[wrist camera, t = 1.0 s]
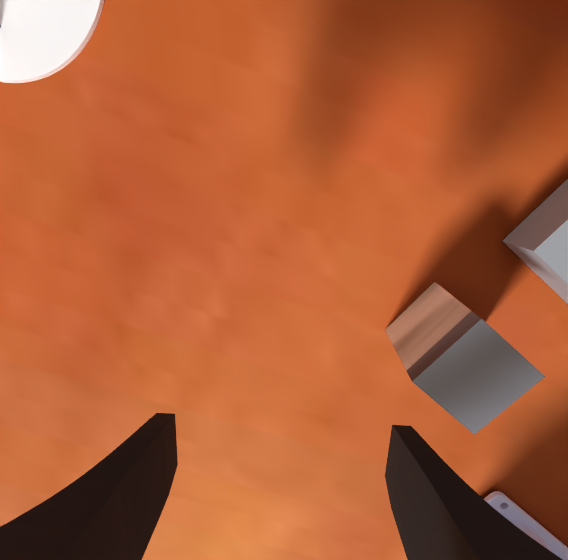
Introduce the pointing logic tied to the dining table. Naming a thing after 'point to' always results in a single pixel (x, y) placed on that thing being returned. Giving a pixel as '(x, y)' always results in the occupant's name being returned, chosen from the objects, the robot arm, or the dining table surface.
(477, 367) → the peg
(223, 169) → the dining table surface
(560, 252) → the socket board
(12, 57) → the panda figurine
